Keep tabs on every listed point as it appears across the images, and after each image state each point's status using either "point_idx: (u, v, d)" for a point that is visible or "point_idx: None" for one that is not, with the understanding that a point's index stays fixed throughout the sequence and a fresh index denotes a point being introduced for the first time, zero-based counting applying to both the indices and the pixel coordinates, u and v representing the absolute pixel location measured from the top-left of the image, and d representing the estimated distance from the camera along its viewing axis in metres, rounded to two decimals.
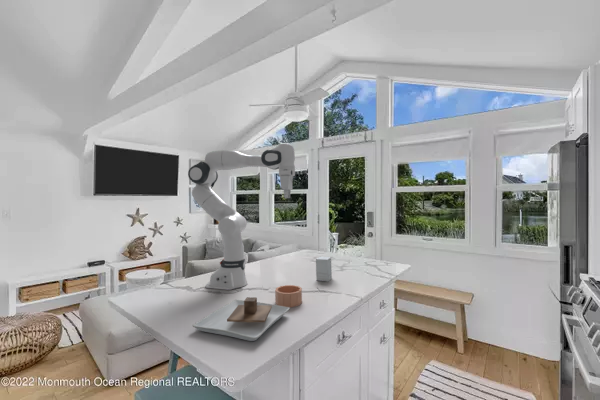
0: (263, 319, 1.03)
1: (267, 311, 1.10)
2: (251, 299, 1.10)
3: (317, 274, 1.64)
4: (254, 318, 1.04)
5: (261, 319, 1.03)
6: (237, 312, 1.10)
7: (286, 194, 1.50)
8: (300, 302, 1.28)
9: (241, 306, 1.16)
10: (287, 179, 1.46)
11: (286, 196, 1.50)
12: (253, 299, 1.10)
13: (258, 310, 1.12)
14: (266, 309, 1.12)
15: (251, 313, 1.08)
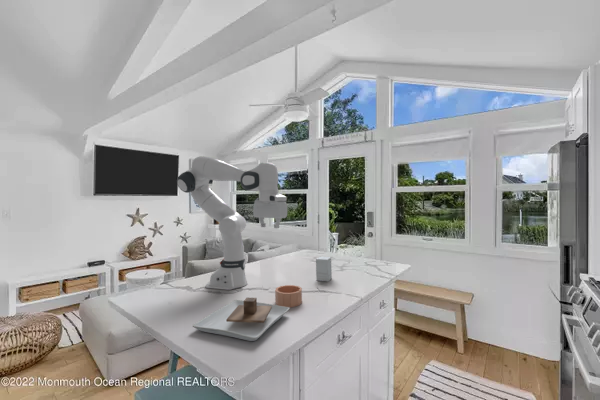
0: (262, 319, 1.03)
1: (267, 311, 1.10)
2: (250, 299, 1.10)
3: (317, 274, 1.64)
4: (253, 318, 1.04)
5: (260, 319, 1.03)
6: (237, 312, 1.10)
7: (278, 223, 1.27)
8: (300, 302, 1.28)
9: (241, 307, 1.16)
10: (286, 206, 1.25)
11: (278, 226, 1.27)
12: (253, 299, 1.10)
13: (258, 310, 1.12)
14: (266, 309, 1.12)
15: (251, 313, 1.08)
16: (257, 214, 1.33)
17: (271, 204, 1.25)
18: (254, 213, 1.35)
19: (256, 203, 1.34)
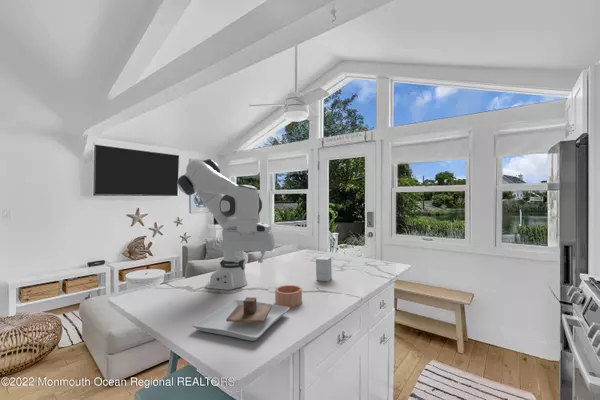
0: (262, 319, 1.03)
1: (266, 311, 1.10)
2: (250, 299, 1.10)
3: (317, 274, 1.64)
4: (253, 318, 1.04)
5: (260, 319, 1.03)
6: (236, 312, 1.10)
7: None
8: (300, 302, 1.28)
9: (241, 306, 1.16)
10: (273, 236, 1.11)
11: (262, 259, 1.10)
12: (252, 299, 1.10)
13: (258, 310, 1.12)
14: (266, 309, 1.12)
15: (250, 313, 1.08)
16: (230, 247, 1.09)
17: (257, 235, 1.07)
18: (224, 246, 1.09)
19: (228, 233, 1.09)
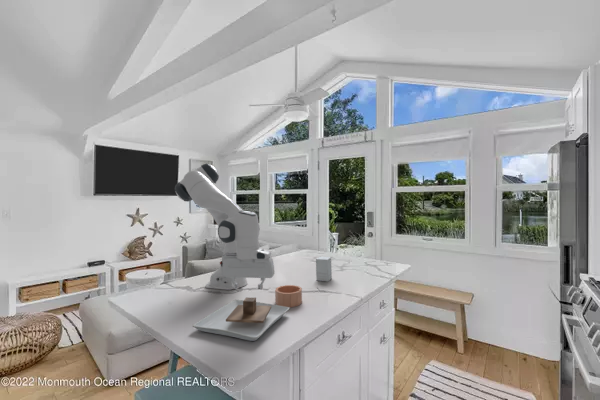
0: (262, 319, 1.03)
1: (266, 311, 1.10)
2: (250, 299, 1.10)
3: (317, 274, 1.64)
4: (253, 318, 1.04)
5: (260, 319, 1.03)
6: (236, 312, 1.10)
7: (262, 283, 1.09)
8: (300, 302, 1.28)
9: (241, 306, 1.16)
10: (273, 263, 1.10)
11: (262, 286, 1.09)
12: (252, 299, 1.10)
13: (257, 310, 1.11)
14: (265, 309, 1.12)
15: (250, 313, 1.08)
16: (230, 274, 1.09)
17: (257, 262, 1.07)
18: (224, 272, 1.09)
19: (228, 260, 1.09)
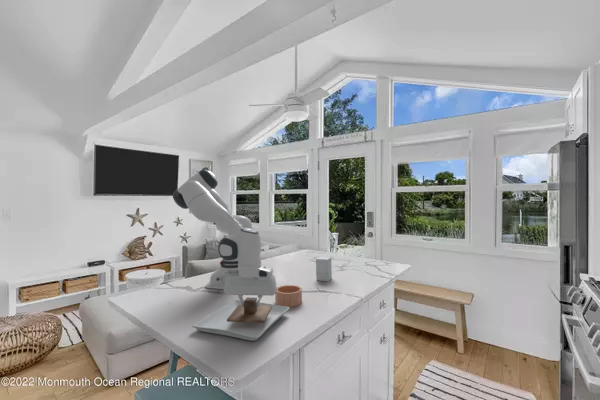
0: (263, 319, 1.03)
1: (267, 311, 1.10)
2: (251, 299, 1.10)
3: (317, 274, 1.64)
4: (254, 318, 1.04)
5: (261, 319, 1.03)
6: (237, 312, 1.10)
7: None
8: (300, 302, 1.28)
9: (241, 306, 1.16)
10: (275, 280, 1.11)
11: (259, 303, 1.10)
12: (253, 299, 1.10)
13: (258, 310, 1.11)
14: (266, 309, 1.12)
15: (251, 313, 1.08)
16: (232, 291, 1.09)
17: (259, 279, 1.07)
18: (226, 290, 1.09)
19: (230, 277, 1.09)
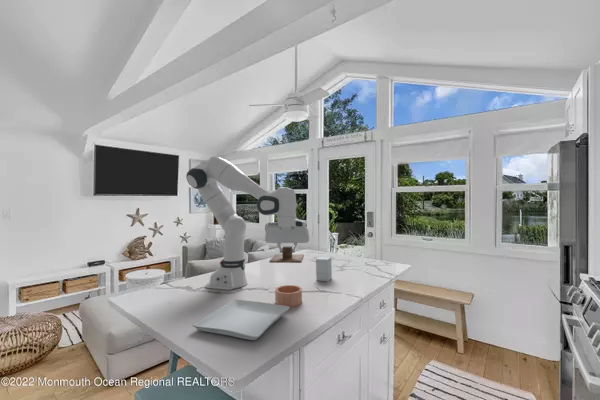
0: (300, 260, 1.24)
1: (301, 257, 1.31)
2: (287, 246, 1.30)
3: (317, 274, 1.64)
4: (292, 260, 1.24)
5: (298, 260, 1.24)
6: (276, 257, 1.30)
7: None
8: (300, 302, 1.28)
9: (278, 255, 1.36)
10: None
11: (294, 250, 1.30)
12: (289, 246, 1.30)
13: (293, 256, 1.32)
14: (300, 256, 1.33)
15: (288, 257, 1.28)
16: (272, 240, 1.29)
17: (296, 229, 1.28)
18: (267, 239, 1.29)
19: (271, 228, 1.29)
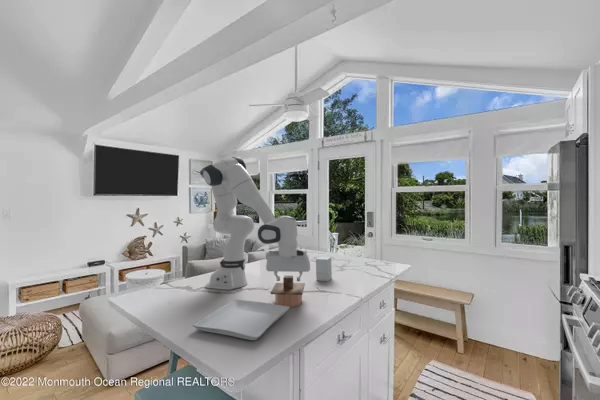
0: (301, 292, 1.24)
1: (302, 287, 1.31)
2: (288, 276, 1.30)
3: (317, 274, 1.64)
4: (293, 291, 1.25)
5: (299, 292, 1.24)
6: (277, 287, 1.31)
7: (300, 276, 1.31)
8: (300, 302, 1.28)
9: (279, 284, 1.36)
10: None
11: None
12: (290, 276, 1.30)
13: (294, 286, 1.32)
14: (301, 285, 1.33)
15: (289, 288, 1.29)
16: (273, 268, 1.30)
17: (297, 258, 1.28)
18: (268, 267, 1.30)
19: (272, 256, 1.30)
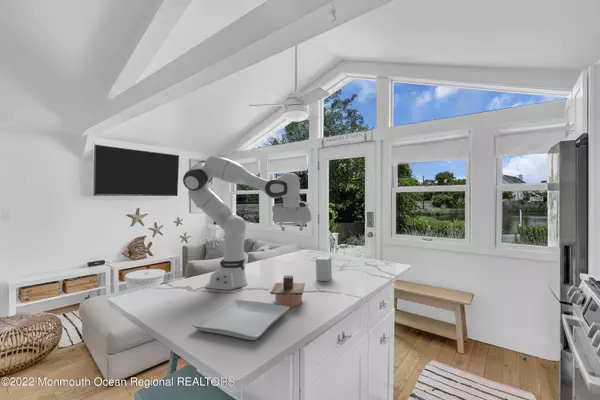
0: (301, 292, 1.24)
1: (302, 287, 1.31)
2: (288, 276, 1.30)
3: (317, 274, 1.64)
4: (293, 291, 1.25)
5: (299, 292, 1.24)
6: (277, 287, 1.31)
7: None
8: (300, 302, 1.28)
9: (279, 284, 1.36)
10: None
11: (302, 228, 1.47)
12: (290, 276, 1.30)
13: (294, 286, 1.32)
14: (301, 285, 1.33)
15: (289, 288, 1.29)
16: (279, 219, 1.46)
17: (299, 209, 1.45)
18: (274, 218, 1.47)
19: (277, 209, 1.46)
